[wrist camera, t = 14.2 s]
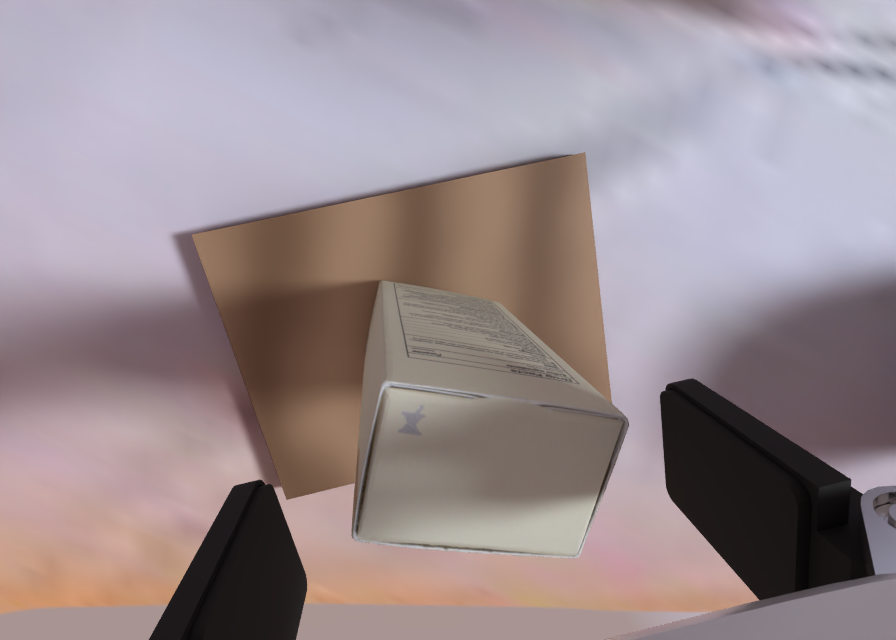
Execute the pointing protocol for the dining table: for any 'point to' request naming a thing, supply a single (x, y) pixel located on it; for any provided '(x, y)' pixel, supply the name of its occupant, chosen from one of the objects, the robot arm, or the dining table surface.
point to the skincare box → (475, 432)
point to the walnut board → (402, 261)
